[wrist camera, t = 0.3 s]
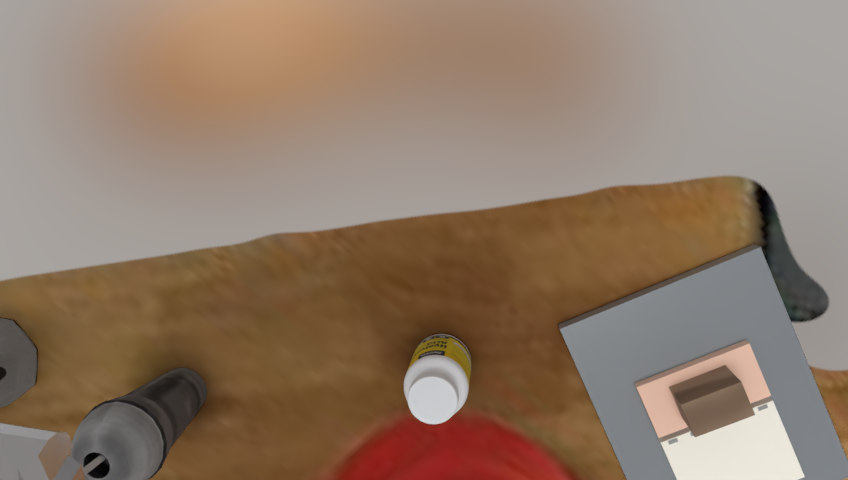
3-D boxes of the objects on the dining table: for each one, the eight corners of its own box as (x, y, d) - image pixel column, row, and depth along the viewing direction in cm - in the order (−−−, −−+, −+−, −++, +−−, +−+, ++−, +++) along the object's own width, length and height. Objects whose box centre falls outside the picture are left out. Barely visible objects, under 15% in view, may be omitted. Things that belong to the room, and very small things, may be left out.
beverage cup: (133, 398, 69) (-9, 507, 49) (170, 338, 68) (39, 426, 48) (196, 440, 69) (79, 565, 50) (234, 381, 68) (129, 486, 48)
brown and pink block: (766, 391, 62) (790, 414, 57) (656, 433, 63) (670, 459, 58) (745, 339, 61) (767, 358, 56) (634, 383, 63) (646, 405, 58)
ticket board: (845, 467, 64) (860, 481, 61) (652, 535, 66) (659, 552, 64) (754, 244, 61) (765, 249, 59) (558, 324, 64) (560, 332, 61)
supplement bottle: (450, 321, 65) (443, 355, 55) (482, 370, 65) (481, 412, 56) (401, 351, 66) (385, 389, 56) (433, 399, 66) (423, 446, 57)
